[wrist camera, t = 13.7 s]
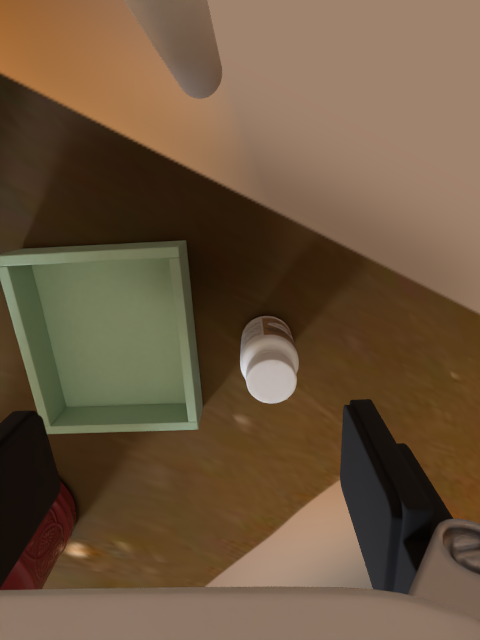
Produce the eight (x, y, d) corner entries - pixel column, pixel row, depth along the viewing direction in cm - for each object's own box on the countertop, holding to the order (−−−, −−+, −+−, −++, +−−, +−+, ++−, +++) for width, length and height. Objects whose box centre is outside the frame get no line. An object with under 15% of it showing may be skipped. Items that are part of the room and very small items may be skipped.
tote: (21, 248, 30) (-7, 255, 26) (186, 240, 29) (178, 246, 26) (62, 412, 35) (43, 434, 32) (203, 407, 34) (198, 429, 31)
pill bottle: (301, 338, 32) (317, 382, 24) (265, 369, 33) (270, 421, 26) (267, 304, 31) (272, 339, 23) (230, 337, 32) (225, 381, 25)
